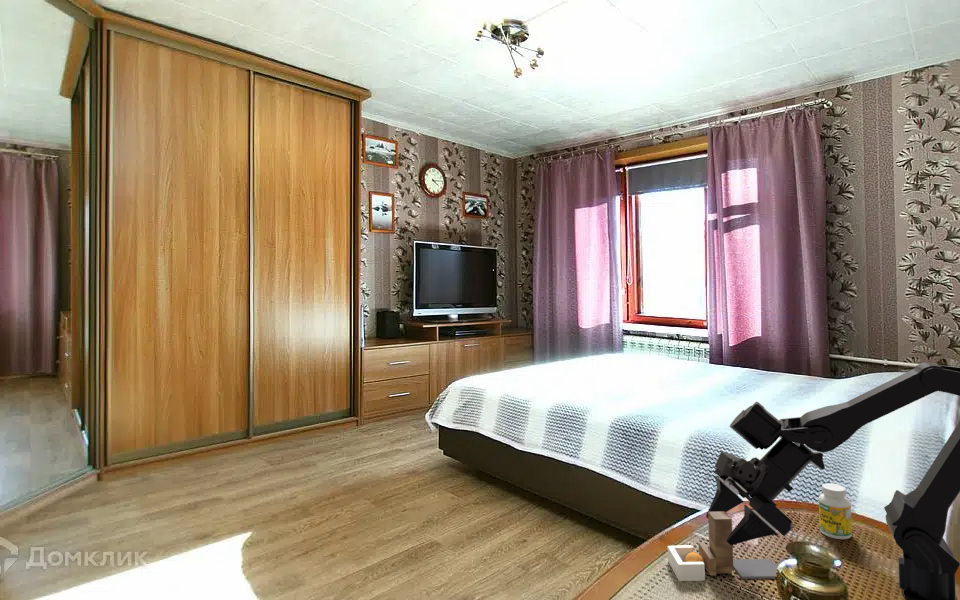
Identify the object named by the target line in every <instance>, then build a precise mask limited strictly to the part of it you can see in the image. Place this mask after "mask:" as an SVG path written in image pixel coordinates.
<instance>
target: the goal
mask: <svg viewBox="0 0 960 600" xmlns="http://www.w3.org/2000/svg"><path fill="white" fill-rule="evenodd" d="M691 552H694V546H693V545H692V544H691V545H690V544H689V545H688V544H687V545H682V544H681V545H667V562H668V564H669V566H670V567H671V569H672V570H673V571H672V572H673V573H674V574H675V576H676V578H677V580H678V582H697V581H698V582H704V581H706V571H705V569H706V568H705V565H704V563H703V562H685V558H686V556H687V554H689V553H691Z"/></svg>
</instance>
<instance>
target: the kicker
mask: <svg viewBox="0 0 960 600" xmlns="http://www.w3.org/2000/svg"><path fill="white" fill-rule="evenodd" d="M707 512H708V511H707ZM707 519H708V541H709V543H708V545H709V547H708V546H707V545H706V544H705V542H698V554H699V555H700V556H701V557H702V558H703V561H704V565H705V569H706V571H707V572H708V574H709V575H710V576H717V574H733V572H734V570H735V569H734V568H733V559H734V549H733V548H734V547H733V546H734V545H730V544H729V543H728V542H727V541H726V540H727V538H728V537H729V535H730V534H731V532H732V531H733V519H732V517H731V516H730V515H729V514H728V512H725V511H717V512H708V518H707Z"/></svg>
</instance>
